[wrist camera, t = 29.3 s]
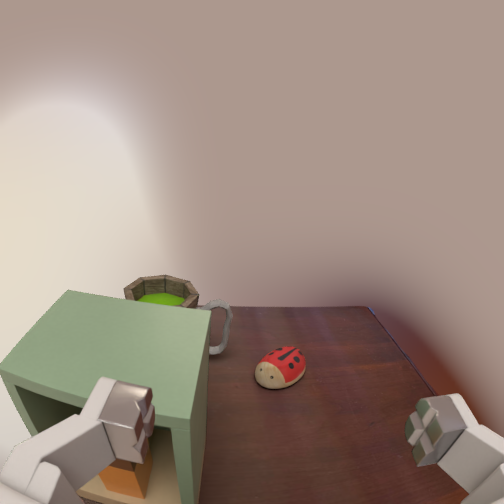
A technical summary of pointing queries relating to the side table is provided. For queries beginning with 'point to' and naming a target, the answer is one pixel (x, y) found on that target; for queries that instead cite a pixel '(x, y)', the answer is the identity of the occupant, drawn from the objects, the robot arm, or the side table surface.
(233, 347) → the side table surface
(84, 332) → the cubby
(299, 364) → the ladybug figurine
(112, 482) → the granola carton
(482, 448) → the robot arm
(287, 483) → the side table surface
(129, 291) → the mug
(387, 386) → the side table surface
